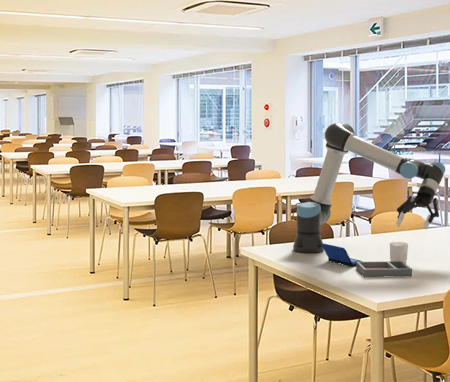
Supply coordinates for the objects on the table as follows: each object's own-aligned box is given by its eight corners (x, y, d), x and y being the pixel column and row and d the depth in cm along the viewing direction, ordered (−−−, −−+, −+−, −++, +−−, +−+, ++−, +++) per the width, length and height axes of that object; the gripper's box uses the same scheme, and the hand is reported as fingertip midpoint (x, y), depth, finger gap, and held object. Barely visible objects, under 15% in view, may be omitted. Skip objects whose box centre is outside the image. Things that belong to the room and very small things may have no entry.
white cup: (408, 268, 291) (408, 245, 290) (389, 267, 292) (390, 244, 291) (406, 264, 298) (407, 242, 297) (388, 263, 300) (389, 241, 299)
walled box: (363, 277, 275) (364, 269, 274) (356, 268, 290) (356, 261, 289) (412, 276, 275) (412, 269, 275) (401, 268, 290) (402, 261, 290)
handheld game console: (366, 265, 298) (367, 245, 297) (344, 269, 291) (344, 248, 290) (342, 259, 311) (343, 239, 310) (320, 262, 304) (321, 242, 303)
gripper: (455, 197, 304) (439, 234, 295) (406, 193, 321) (389, 228, 312) (450, 186, 300) (434, 223, 291) (400, 183, 317) (384, 218, 308)
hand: (411, 226), depth 301 cm, fingers open, 13 cm apart
